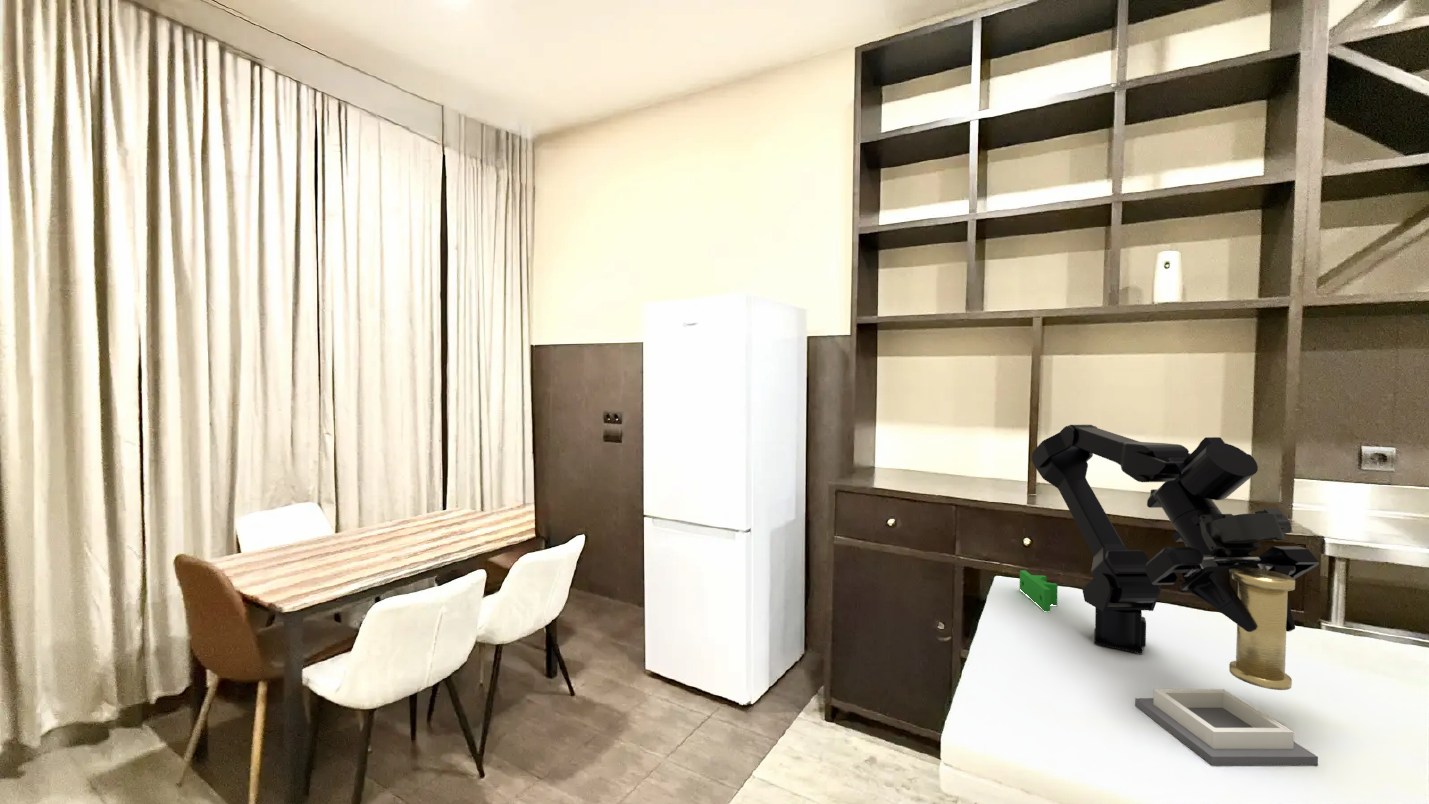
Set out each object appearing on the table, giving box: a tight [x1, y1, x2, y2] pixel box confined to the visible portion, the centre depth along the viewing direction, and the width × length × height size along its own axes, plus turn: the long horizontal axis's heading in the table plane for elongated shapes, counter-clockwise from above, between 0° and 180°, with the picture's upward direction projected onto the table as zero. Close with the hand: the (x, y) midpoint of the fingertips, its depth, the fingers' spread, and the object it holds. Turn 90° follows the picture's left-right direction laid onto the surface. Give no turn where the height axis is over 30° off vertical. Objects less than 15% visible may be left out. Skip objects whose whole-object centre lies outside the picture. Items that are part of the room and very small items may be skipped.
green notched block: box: [1019, 569, 1059, 612], centre depth 114 cm, size 11×4×5 cm, turn 174°
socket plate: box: [1134, 688, 1319, 766], centre depth 71 cm, size 12×12×3 cm
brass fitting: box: [1228, 567, 1296, 691], centre depth 71 cm, size 6×6×13 cm
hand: (1271, 630), depth 69 cm, fingers closed on brass fitting, 4 cm apart
